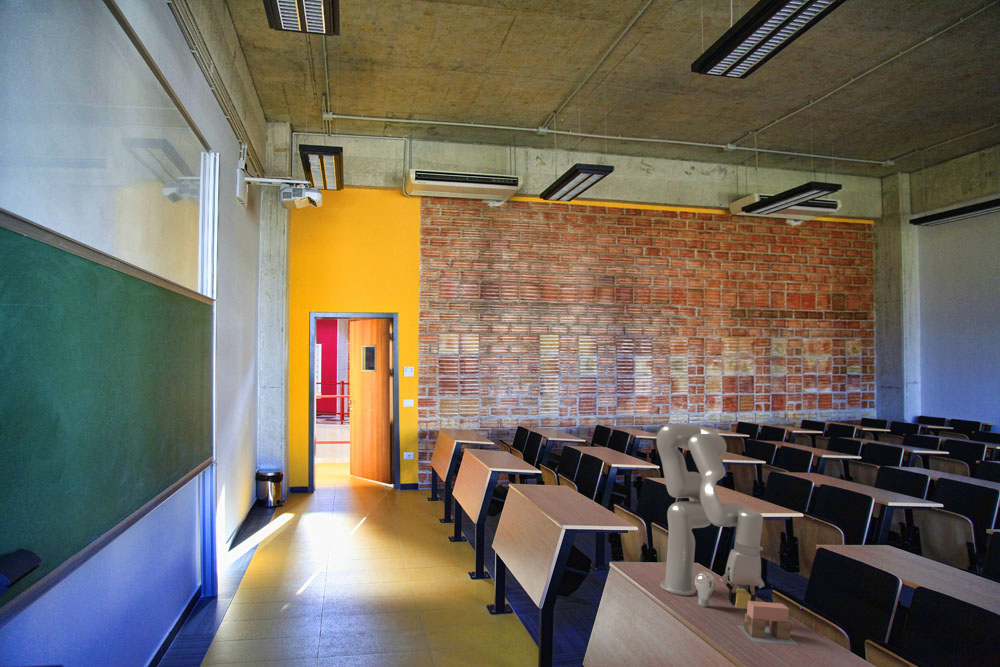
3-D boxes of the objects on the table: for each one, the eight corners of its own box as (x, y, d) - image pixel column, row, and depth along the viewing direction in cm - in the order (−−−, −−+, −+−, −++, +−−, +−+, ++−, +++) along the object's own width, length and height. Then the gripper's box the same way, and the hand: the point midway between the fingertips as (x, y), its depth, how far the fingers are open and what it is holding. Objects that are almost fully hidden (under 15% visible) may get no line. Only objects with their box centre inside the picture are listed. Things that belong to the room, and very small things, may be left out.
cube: (730, 601, 200) (731, 587, 200) (743, 602, 200) (745, 589, 200) (735, 607, 195) (737, 593, 195) (749, 609, 196) (751, 595, 195)
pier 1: (743, 629, 189) (745, 613, 189) (756, 630, 189) (757, 614, 189) (751, 637, 184) (752, 620, 184) (764, 638, 184) (765, 621, 184)
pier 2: (768, 631, 189) (770, 615, 189) (781, 632, 189) (782, 616, 189) (777, 638, 184) (778, 622, 184) (789, 639, 184) (791, 623, 184)
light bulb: (691, 609, 204) (694, 572, 204) (692, 602, 210) (695, 567, 211) (713, 613, 201) (716, 577, 202) (713, 606, 208) (716, 571, 208)
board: (736, 627, 191) (736, 625, 192) (779, 630, 192) (779, 628, 192) (752, 644, 180) (752, 641, 181) (798, 647, 181) (798, 644, 181)
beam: (781, 616, 189) (782, 603, 189) (788, 622, 185) (789, 608, 185) (746, 613, 189) (747, 600, 189) (752, 619, 185) (753, 606, 185)
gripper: (766, 547, 202) (759, 601, 202) (716, 542, 201) (709, 596, 201) (777, 555, 194) (770, 612, 194) (726, 550, 193) (719, 607, 194)
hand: (739, 603), depth 198 cm, fingers closed on cube, 4 cm apart
